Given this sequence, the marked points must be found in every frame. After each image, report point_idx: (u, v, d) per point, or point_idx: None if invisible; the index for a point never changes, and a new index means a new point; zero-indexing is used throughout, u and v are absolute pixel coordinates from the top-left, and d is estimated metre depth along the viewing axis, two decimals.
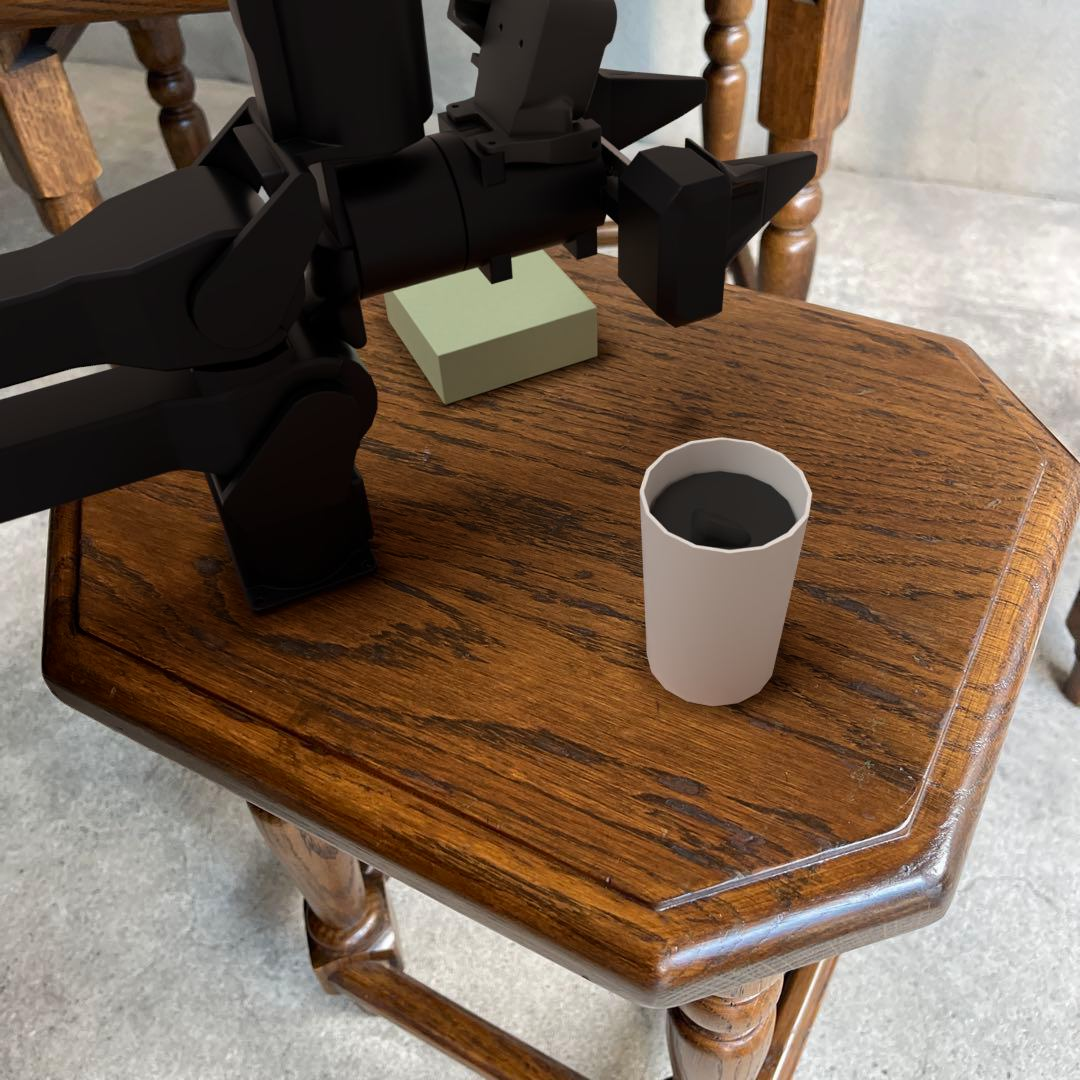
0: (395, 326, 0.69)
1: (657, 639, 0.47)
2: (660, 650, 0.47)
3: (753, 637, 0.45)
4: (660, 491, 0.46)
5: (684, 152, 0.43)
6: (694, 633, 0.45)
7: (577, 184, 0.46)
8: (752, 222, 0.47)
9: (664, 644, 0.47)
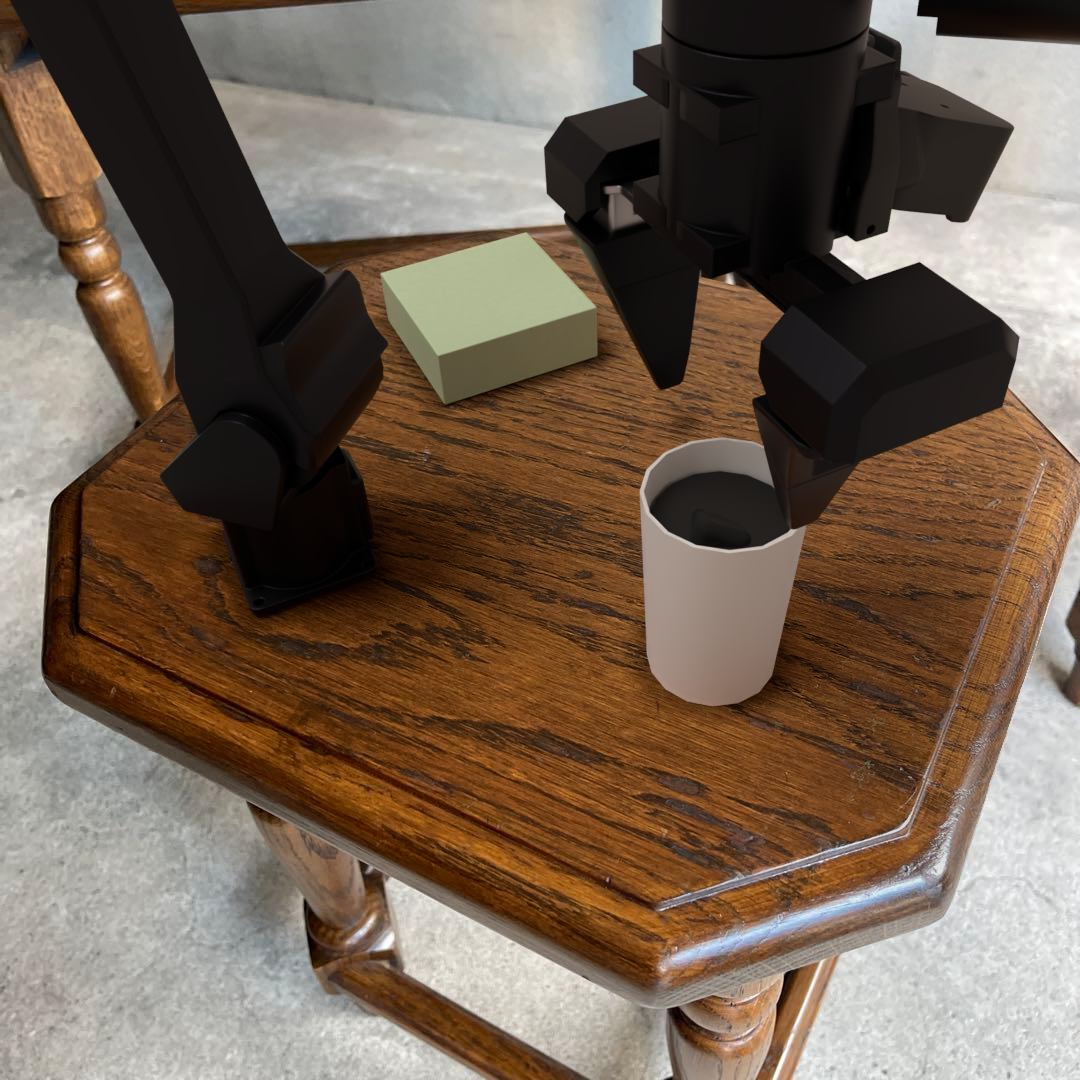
0: (395, 326, 0.69)
1: (657, 639, 0.47)
2: (660, 650, 0.47)
3: (753, 637, 0.45)
4: (661, 491, 0.46)
5: None
6: (694, 633, 0.45)
7: (825, 218, 0.33)
8: (808, 471, 0.35)
9: (664, 644, 0.47)
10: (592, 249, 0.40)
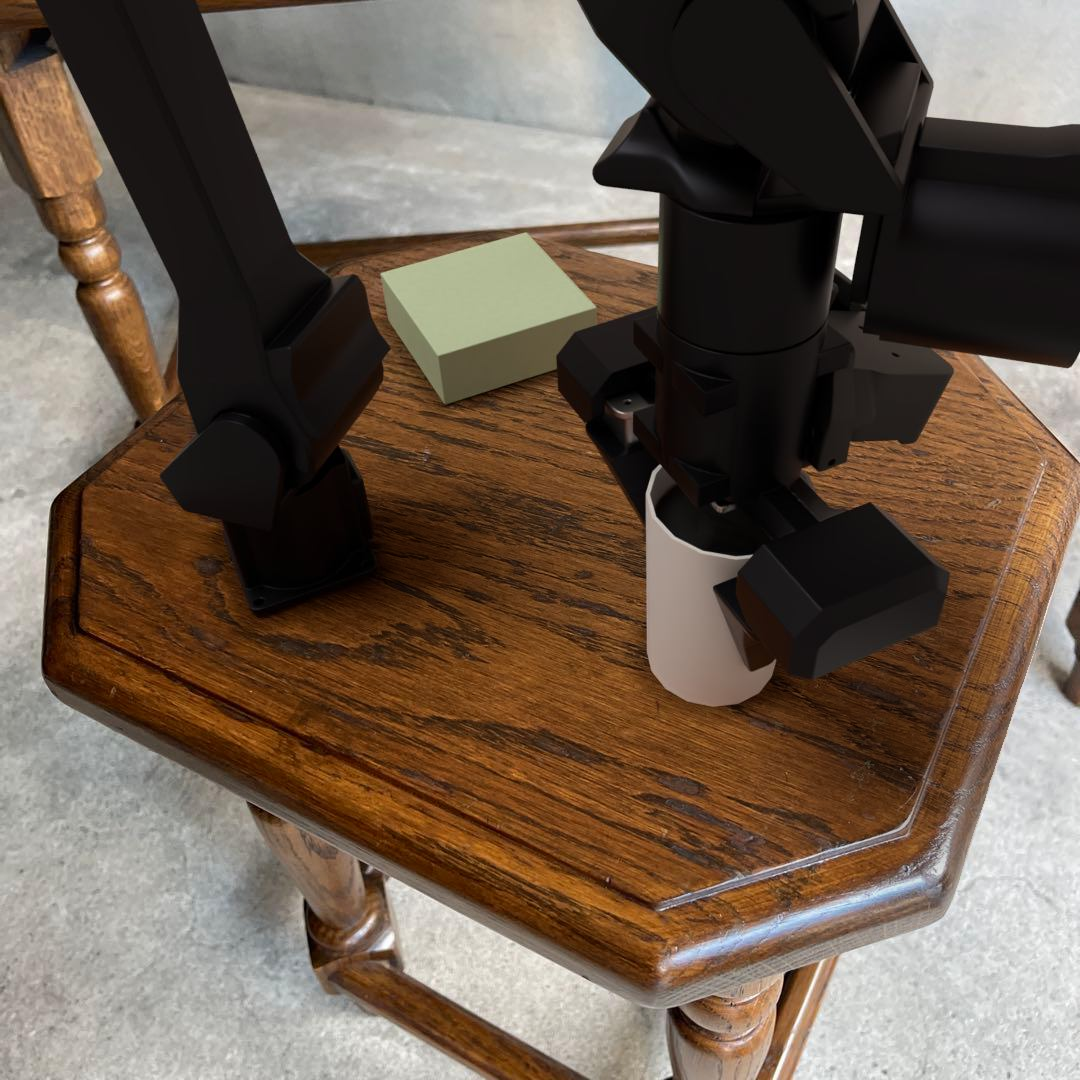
0: (395, 326, 0.69)
1: (659, 640, 0.47)
2: (661, 651, 0.47)
3: None
4: (666, 492, 0.45)
5: None
6: (696, 636, 0.45)
7: (793, 458, 0.39)
8: None
9: (666, 645, 0.47)
10: (610, 463, 0.45)
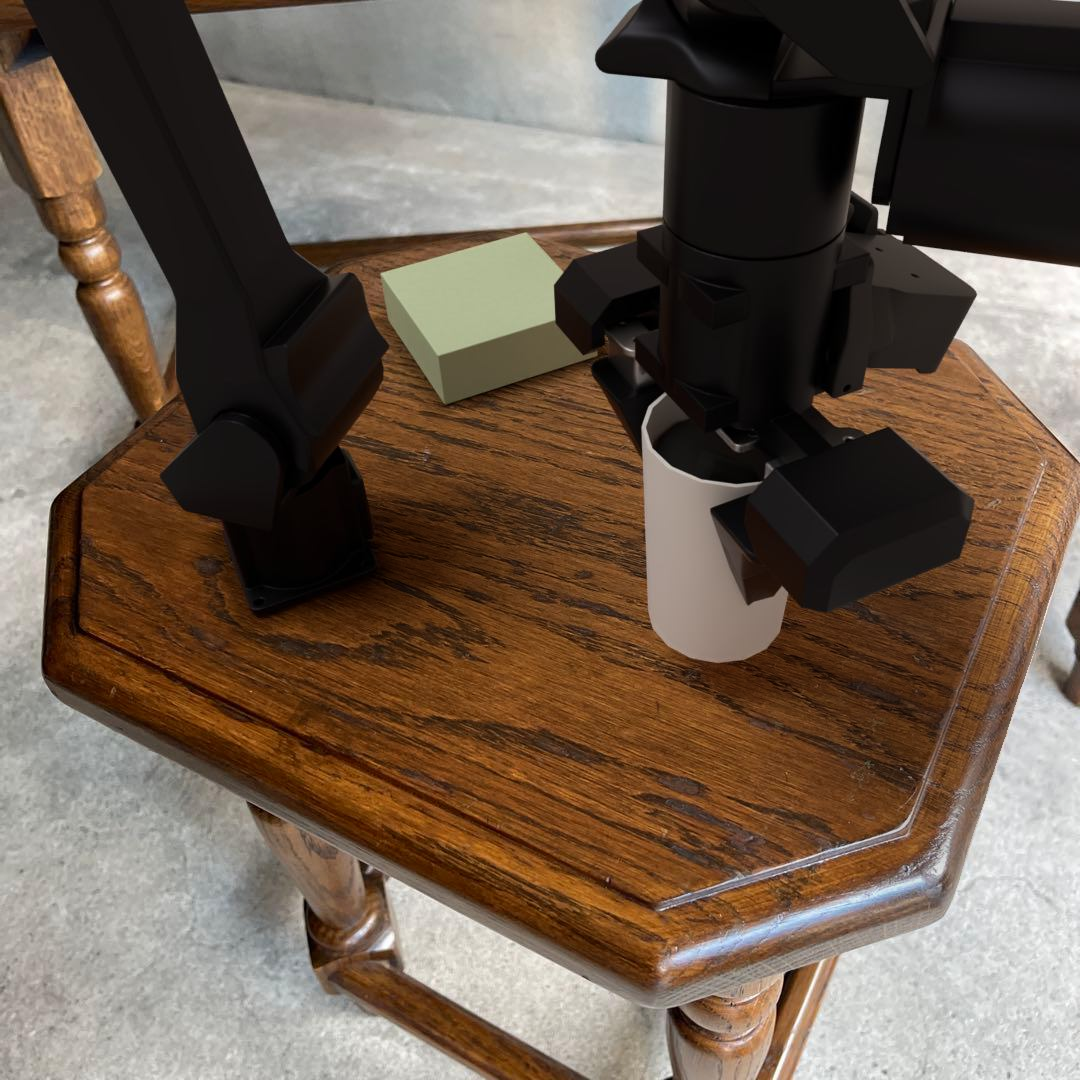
0: (395, 326, 0.69)
1: (659, 590, 0.45)
2: (662, 602, 0.45)
3: None
4: (663, 431, 0.43)
5: None
6: (698, 580, 0.42)
7: (806, 381, 0.37)
8: (759, 566, 0.40)
9: (666, 595, 0.44)
10: (618, 405, 0.42)
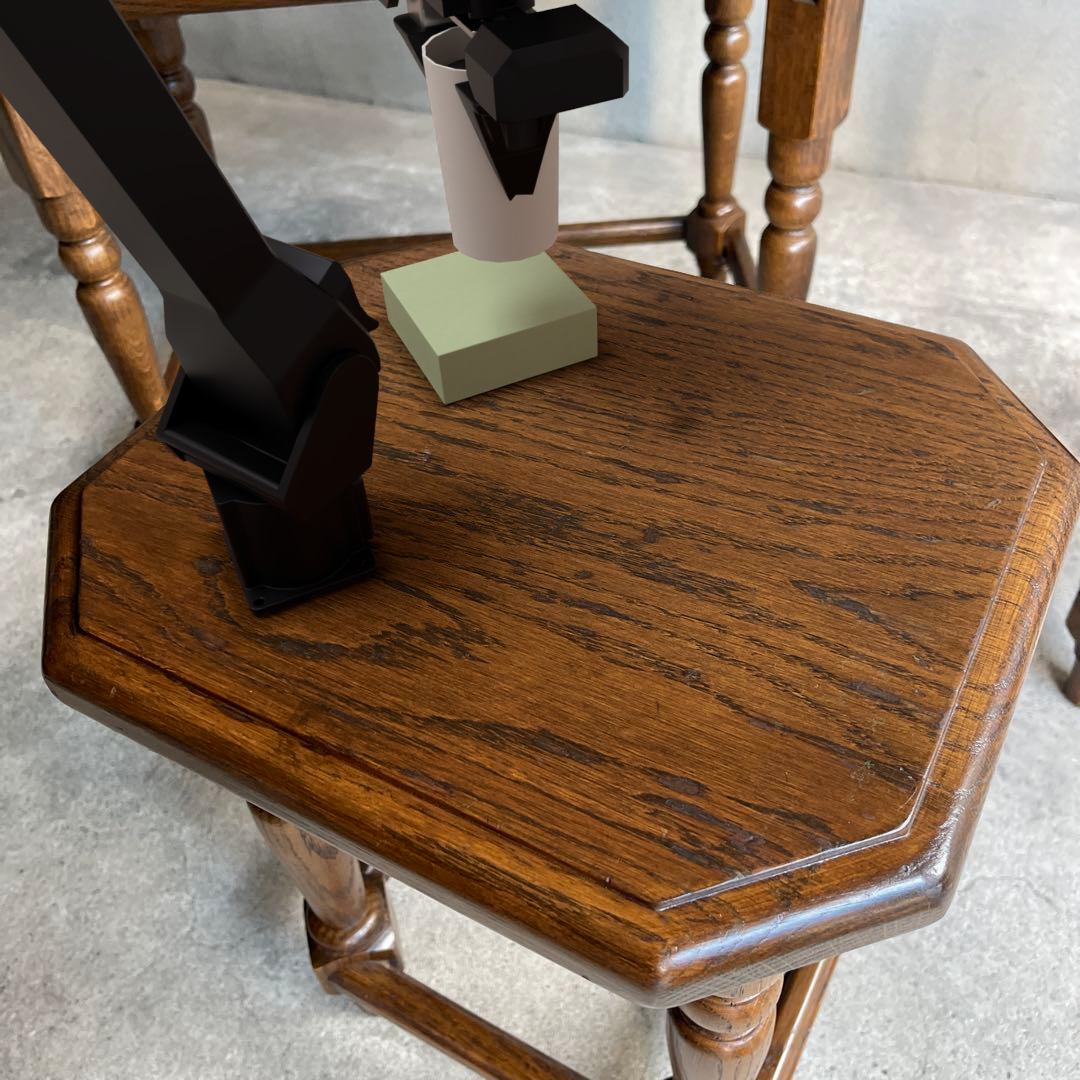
0: (395, 326, 0.69)
1: (449, 199, 0.57)
2: (453, 210, 0.57)
3: None
4: (449, 65, 0.55)
5: None
6: (470, 174, 0.54)
7: None
8: (503, 146, 0.52)
9: (453, 199, 0.56)
10: (408, 39, 0.55)
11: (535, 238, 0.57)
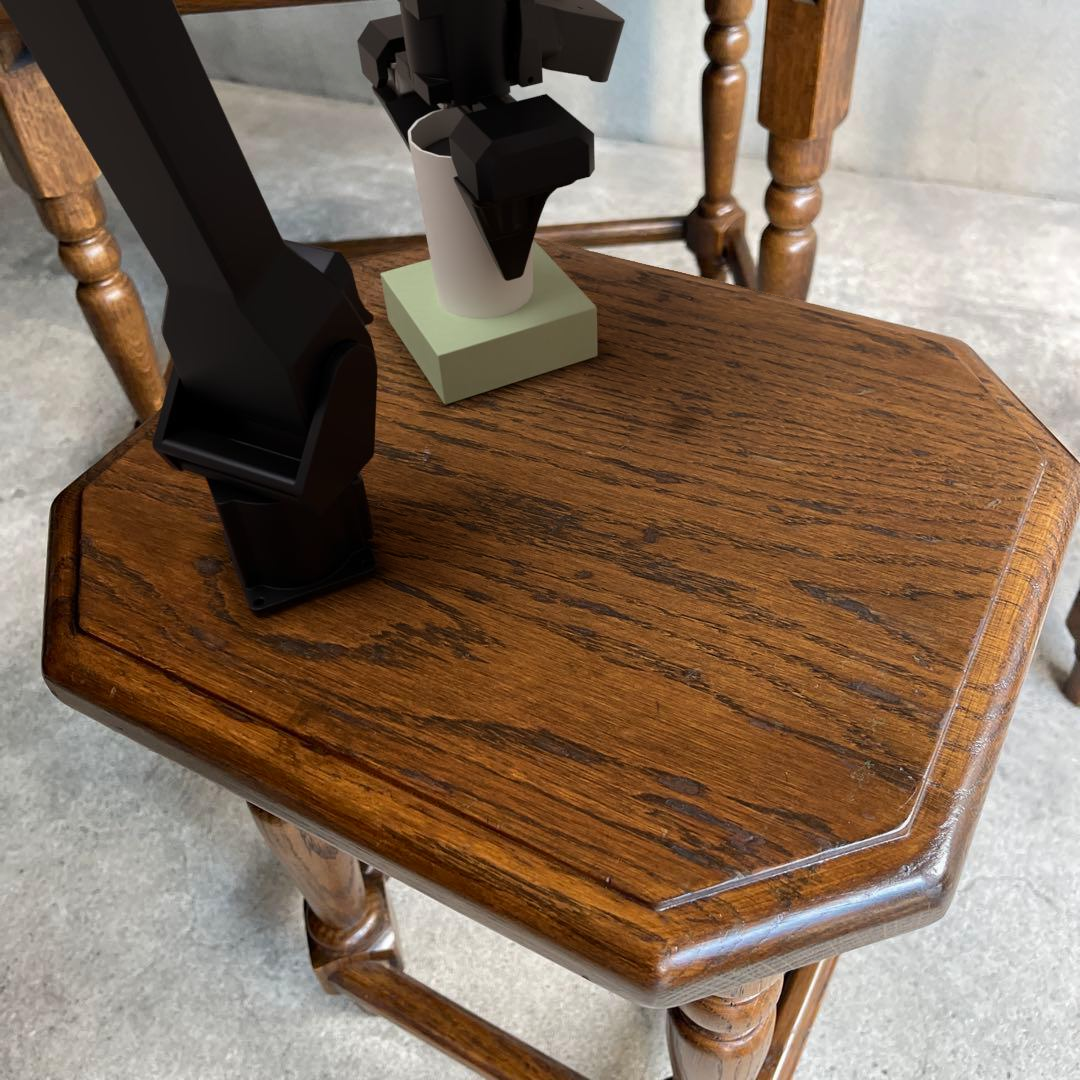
0: (395, 326, 0.69)
1: (434, 263, 0.63)
2: (438, 273, 0.63)
3: None
4: (432, 144, 0.62)
5: None
6: (453, 244, 0.61)
7: (498, 70, 0.55)
8: (498, 230, 0.57)
9: (438, 264, 0.63)
10: (385, 105, 0.62)
11: (512, 297, 0.64)
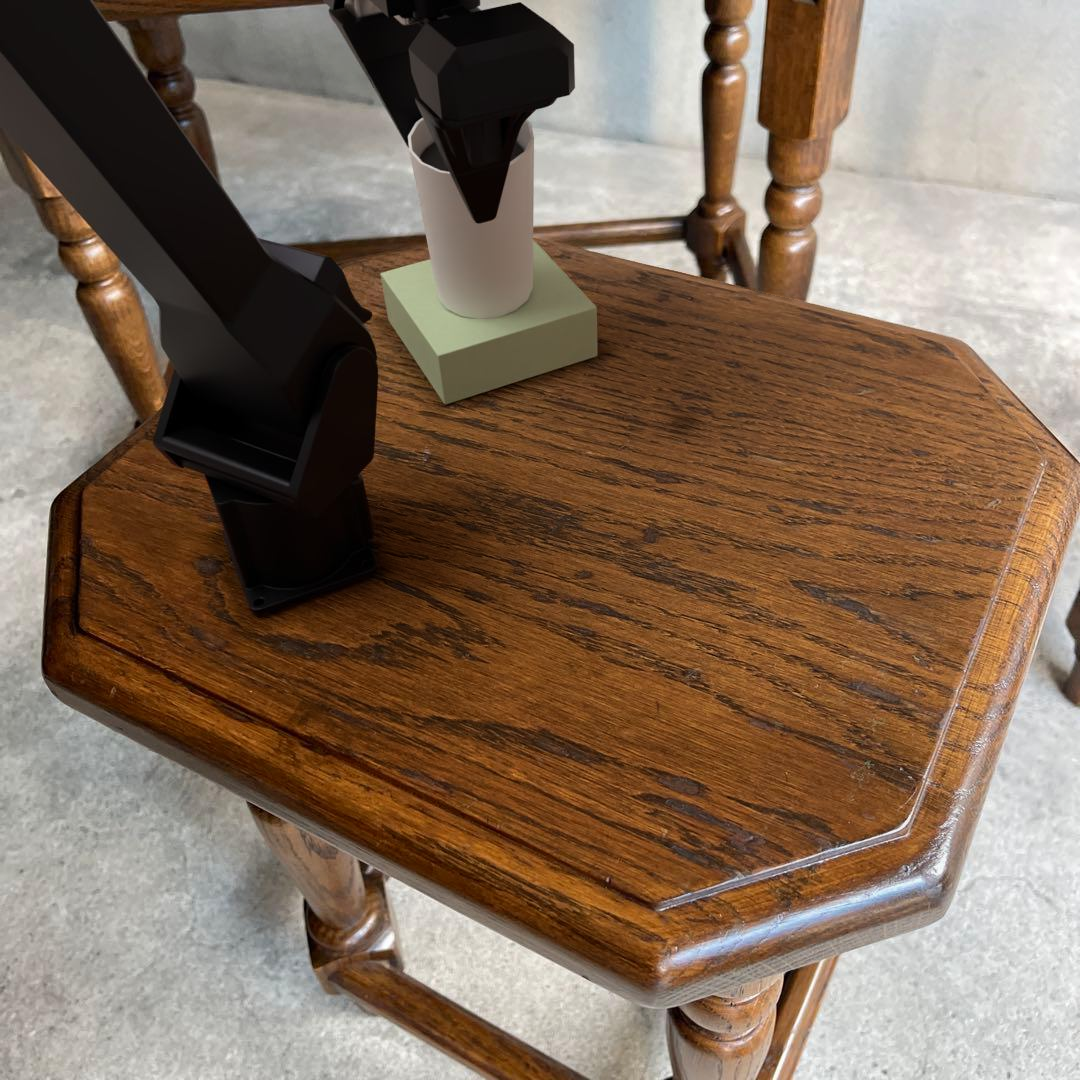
0: (395, 326, 0.69)
1: (434, 264, 0.63)
2: (438, 273, 0.63)
3: (498, 255, 0.60)
4: (431, 143, 0.60)
5: None
6: (453, 251, 0.60)
7: None
8: (466, 161, 0.51)
9: (438, 266, 0.62)
10: (343, 28, 0.55)
11: (512, 298, 0.64)
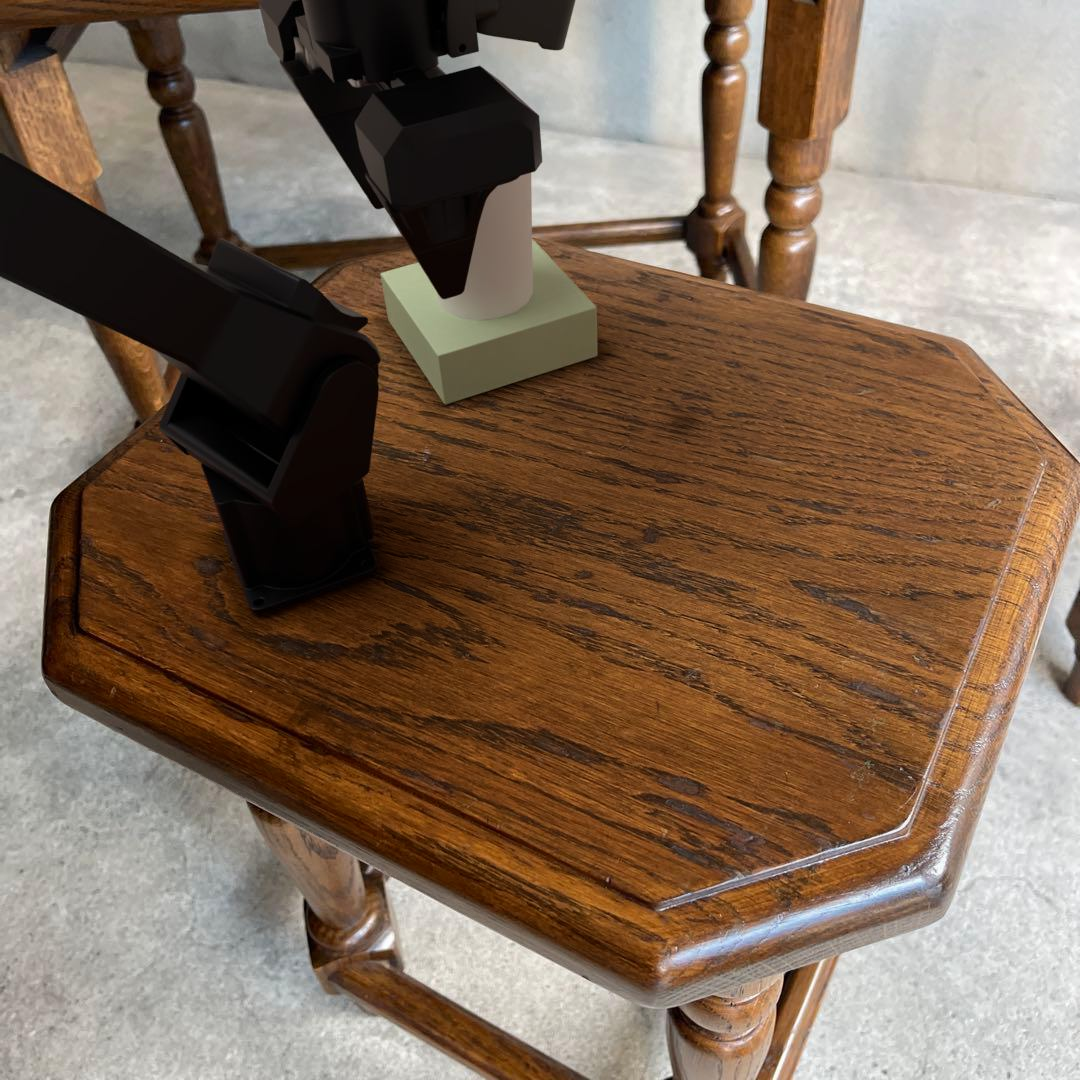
0: (395, 326, 0.69)
1: None
2: None
3: (496, 249, 0.61)
4: None
5: None
6: None
7: (421, 37, 0.43)
8: (426, 238, 0.46)
9: None
10: (294, 83, 0.50)
11: (511, 298, 0.64)
